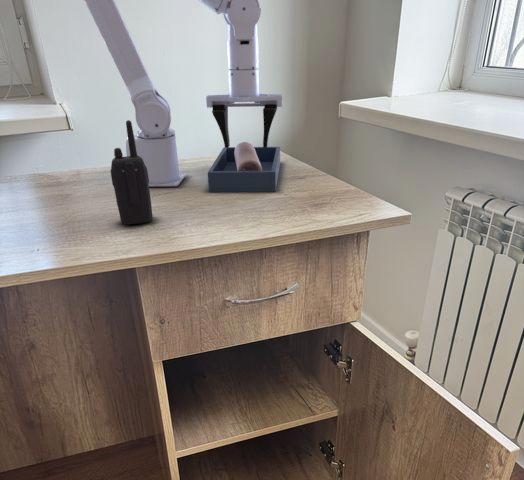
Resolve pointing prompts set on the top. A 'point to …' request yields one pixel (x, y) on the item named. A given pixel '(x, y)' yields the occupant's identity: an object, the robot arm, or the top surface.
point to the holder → (245, 172)
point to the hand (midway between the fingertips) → (246, 146)
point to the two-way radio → (131, 184)
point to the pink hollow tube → (246, 158)
